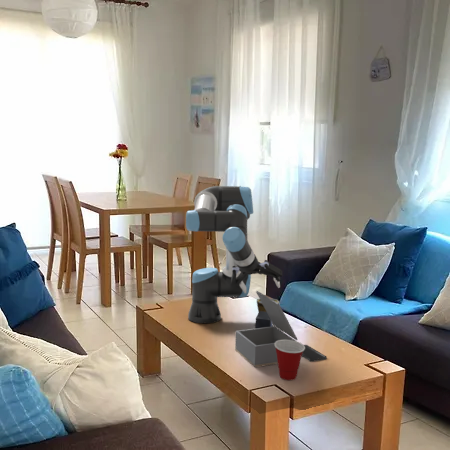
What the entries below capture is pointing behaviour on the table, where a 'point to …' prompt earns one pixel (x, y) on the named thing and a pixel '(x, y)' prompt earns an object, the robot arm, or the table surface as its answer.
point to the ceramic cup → (260, 305)
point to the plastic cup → (288, 358)
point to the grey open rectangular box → (259, 345)
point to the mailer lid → (276, 314)
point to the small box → (263, 320)
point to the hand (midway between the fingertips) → (262, 287)
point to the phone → (312, 354)
